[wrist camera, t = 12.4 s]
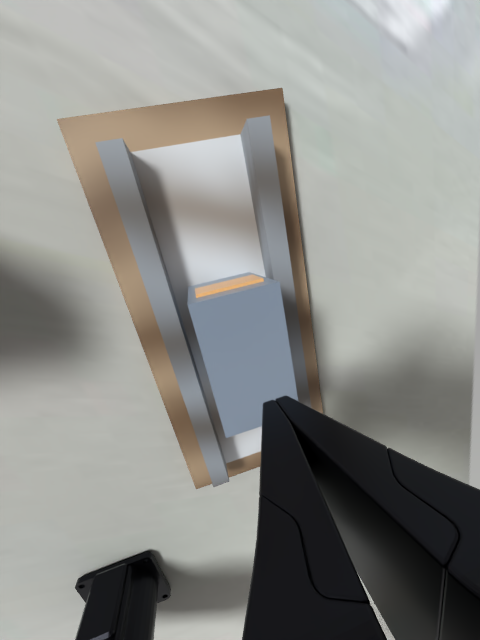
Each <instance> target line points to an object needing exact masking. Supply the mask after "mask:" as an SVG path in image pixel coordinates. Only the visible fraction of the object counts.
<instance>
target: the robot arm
mask: <svg viewBox="0 0 480 640" xmlns="http://www.w3.org/2000/svg"><path fill="white" fill-rule="evenodd" d="M259 495H260V497H259V513H258V527H257V540H256V548H255V556H254V565H253V572H252V579H251V585H250V592H249V598H248V605H247V611H246V618H245V624H244V631H243V637H242V640H387V638H386V636H385V634H384V632H383V630H382V628H381V626H380V624H379V622H378V619H377V617H376V615H375V613H374V611H373V608H372V607H371V605H370V602H369V599H368V597H367V594H366V592H365V590H364V588H363V585H362V583H361V581H360V578H361V580H362V582H363V583H364V585H365V587H366V589H367V590H368V592H369V594H370V596H371V598H372V599H373V601H374V603H375V605H376V606H377V608H378V610H379V612H380V613H381V615H382V617H383V619H384V621H385V622H386V624H387V626H388V628H389V629H390V631H391V633H392V635H393V636H394V638H395V640H480V490H479V489H477V488H474V487H472V486H470V485H467V484H465V483H463V482H460V481H458V480H456V479H454V478H451V477H449V476H447V475H445V474H442V473H440V472H438V471H436V470H433V469H431V468H429V467H427V466H425V465H423V464H421V463H419V462H417V461H415V460H413V459H411V458H409V457H406V456H404V455H402V454H401V453H399V452H397V451H395V450H393V449H391V448H388V449H387V447H386V446H385V445H383V444H381V443H379V442H377V441H375V440H373V439H371V438H369V437H367V436H365V435H363V434H361V433H359V432H357V431H355V430H353V429H351V428H349V427H348V426H346V425H344V424H342V423H340V422H338V421H336V420H334V419H332V418H330V417H328V416H326V415H324V414H322V413H320V412H318V411H316V410H314V409H312V408H310V407H308V406H306V405H305V404H303V403H301V402H299V401H297V400H295V399H293V398H291V397H289V396H286V395H285V396H282V397H279V398H276V399H275V400H270V401H266V402H264V403H263V409H262V436H261V464H260V491H259ZM356 571H357V572H356ZM357 573H358V574H357ZM358 575H359V576H360V578H359V576H358ZM75 589H76V590H77V592H78V593H79V594H80V596H81V597H82V598H83V600H84V601H85V602H86V605H85V608H84V612H83V615H82V618H81V622H80V625H79V628H78V632H77V635H76V639H75V640H153V639H154V629H155V618H156V607H157V603H159V602H161V601H164V600H166V599H168V598H169V597H170V594H171V589H170V587H169V585H168V583H167V581H166V579H165V577H164V575H163V573H162V571H161V569H160V567H159V566H158V564H157V562H156V560H155V558H154V556H153V554H152V553H151V552H145V553H143V554H140V555H137V556H135V557H132V558H130V559H127V560H124V561H122V562H119V563H117V564H114V565H111V566H109V567H106V568H104V569H101V570H98V571H96V572H93V573H91V574H88V575H85V576H83V577H81V578H79V579H78V580H77V583H76V586H75Z"/></svg>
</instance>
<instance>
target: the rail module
mask: <svg viewBox="0 0 480 640" xmlns="http://www.w3.org/2000/svg"><path fill="white" fill-rule="evenodd" d="M187 305H188V308H189V312H190V315H191V319H192V322H193V326H194V329H195V332H196V336H197V339H198V343H199V346H200V350H201V353H202V357H203V360H204V364H205V367H206V371H207V374H208V377H209V381H210V384H211V388H212V391H213V395H214V398H215V402H216V405H217V409H218V412H219V415H220V419H221V422H222V426H223V429H224V433H225V436H226V438H228V437H231V436H234V435H237V434H240V433H243V432H246V431H249V430H252V429H255V428H258V427H261V426H262V409H263V403H264V402H266V401H270V400H275V399H276V398H279V397H282V396H285V395H286V396H289V397H291V398H293V399H295V400H297V401H298V396H297V389H296V383H295V377H294V370H293V364H292V358H291V351H290V345H289V339H288V332H287V326H286V320H285V313H284V307H283V300H282V294H281V288H280V282H279V281H276V280H273V279H269V278H266V277H263V276H260V275H257V274H254V273H251V272H247V273H243V274H239V275H235V276H230V277H226V278H222V279H218V280H214V281H210V282H205V283H201V284H197V285H193V286H189V287H188V304H187Z"/></svg>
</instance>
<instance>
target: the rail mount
mask: <svg viewBox="0 0 480 640" xmlns="http://www.w3.org/2000/svg"><path fill="white" fill-rule="evenodd" d="M57 121H58V124H59V126H60V129H61V132H62V134H63V137H64V140H65V142H66V145H67V148H68V150H69V153H70V156H71V158H72V161H73V164H74V166H75V169H76V172H77V174H78V177H79V180H80V182H81V185H82V187H83V190H84V193H85V195H86V198H87V201H88V203H89V206H90V209H91V211H92V214H93V217H94V219H95V222H96V225H97V227H98V230H99V233H100V235H101V238H102V241H103V243H104V246H105V248H106V251H107V254H108V256H109V259H110V262H111V264H112V267H113V270H114V272H115V275H116V278H117V280H118V283H119V286H120V288H121V291H122V294H123V296H124V299H125V302H126V304H127V307H128V309H129V312H130V315H131V317H132V320H133V323H134V325H135V328H136V331H137V333H138V336H139V339H140V341H141V344H142V347H143V349H144V352H145V355H146V357H147V360H148V363H149V365H150V368H151V370H152V373H153V376H154V378H155V381H156V384H157V386H158V389H159V392H160V394H161V397H162V400H163V402H164V405H165V408H166V410H167V413H168V416H169V418H170V421H171V424H172V426H173V429H174V431H175V434H176V437H177V439H178V442H179V445H180V447H181V450H182V453H183V455H184V458H185V461H186V463H187V466H188V469H189V471H190V474H191V477H192V479H193V482H194V485H195V487H196V489H198V488H201V487H204V486H207V485H209V484H213V487H215V486H218V485H221V484H224V483H226V482H229V477H232V476H234V475H237V474H240V473H243V472H246V471H248V470H251V469H254V468H257V467H259V466H260V464H261V436H262V426H261V427H258V428H255V429H252V430H249V431H246V432H243V433H240V434H237V435H234V436H231V437H228V438H226V436H225V433H224V429H223V426H222V422H221V419H220V415H219V412H218V409H217V405H216V402H215V398H214V395H213V391H212V388H211V384H210V381H209V377H208V374H207V371H206V367H205V364H204V360H203V357H202V353H201V350H200V346H199V343H198V339H197V336H196V332H195V329H194V326H193V322H192V319H191V315H190V312H189V308H188V305H187V304H188V287H189V286H193V285H197V284H201V283H205V282H210V281H214V280H218V279H222V278H226V277H230V276H235V275H239V274H243V273H247V272H251V273H254V274H257V275H260V276H263V277H266V278H269V279H273V280H276V281H279V282H280V288H281V294H282V300H283V307H284V313H285V320H286V326H287V332H288V339H289V345H290V351H291V358H292V364H293V370H294V377H295V383H296V389H297V396H298V401H299V402H301V403H303V404H305V405H306V406H308V407H310V408H312V409H314V410H316V411H318V412H320V413H322V414H323V409H322V401H321V393H320V385H319V377H318V369H317V361H316V353H315V345H314V337H313V329H312V321H311V313H310V305H309V297H308V289H307V281H306V273H305V265H304V257H303V249H302V241H301V233H300V225H299V217H298V209H297V201H296V193H295V185H294V177H293V169H292V161H291V153H290V145H289V137H288V129H287V121H286V113H285V105H284V97H283V89H282V88H277V89H270V90H263V91H256V92H249V93H242V94H234V95H227V96H220V97H213V98H206V99H198V100H191V101H184V102H177V103H170V104H162V105H155V106H148V107H141V108H134V109H126V110H119V111H112V112H105V113H98V114H91V115H83V116H76V117H69V118H62V119H57Z"/></svg>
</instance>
